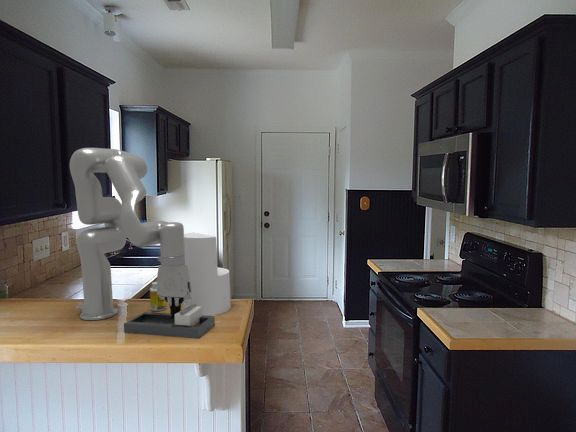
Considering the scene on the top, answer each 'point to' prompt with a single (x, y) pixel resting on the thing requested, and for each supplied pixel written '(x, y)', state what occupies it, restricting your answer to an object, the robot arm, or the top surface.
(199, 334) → the dark grey tray
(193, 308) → the slider knob
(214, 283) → the cylinder
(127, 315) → the top surface
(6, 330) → the top surface
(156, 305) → the supplement bottle
